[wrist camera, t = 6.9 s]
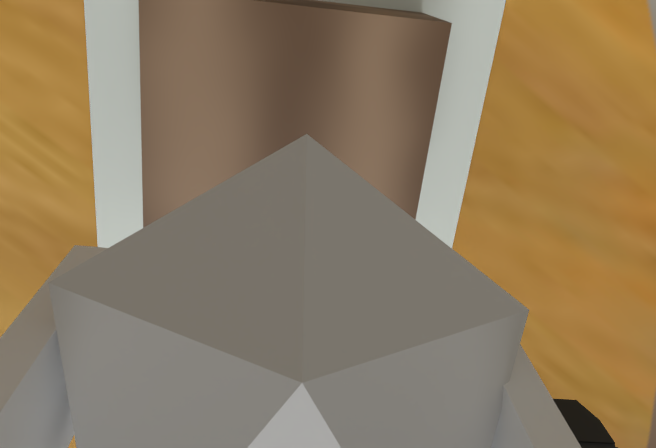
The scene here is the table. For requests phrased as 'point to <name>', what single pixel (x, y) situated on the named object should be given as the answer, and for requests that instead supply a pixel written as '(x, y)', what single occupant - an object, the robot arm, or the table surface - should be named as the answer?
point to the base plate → (444, 3)
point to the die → (285, 323)
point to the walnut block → (284, 91)
